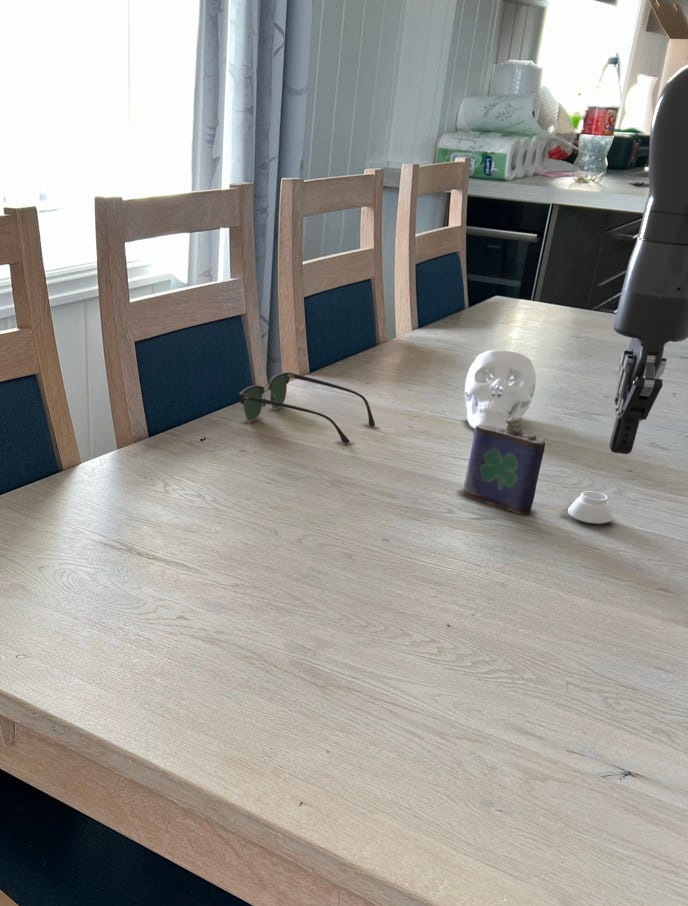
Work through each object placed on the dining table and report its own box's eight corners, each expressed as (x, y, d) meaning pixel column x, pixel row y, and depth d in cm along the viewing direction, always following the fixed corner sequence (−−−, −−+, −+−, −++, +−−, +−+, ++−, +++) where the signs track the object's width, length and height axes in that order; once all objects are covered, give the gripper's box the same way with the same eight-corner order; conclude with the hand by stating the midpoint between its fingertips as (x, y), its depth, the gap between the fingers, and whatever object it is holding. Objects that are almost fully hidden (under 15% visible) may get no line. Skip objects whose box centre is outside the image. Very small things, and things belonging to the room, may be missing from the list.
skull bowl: (453, 422, 146) (470, 343, 146) (454, 448, 159) (470, 375, 160) (525, 432, 143) (542, 351, 143) (520, 458, 156) (536, 384, 157)
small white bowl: (613, 528, 116) (606, 513, 120) (619, 505, 114) (613, 491, 119) (569, 523, 117) (565, 508, 121) (575, 500, 115) (570, 485, 119)
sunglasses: (340, 449, 136) (344, 414, 133) (234, 425, 143) (236, 391, 140) (382, 422, 149) (387, 389, 146) (283, 401, 156) (286, 370, 153)
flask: (458, 493, 123) (475, 410, 118) (470, 488, 125) (487, 406, 120) (524, 516, 118) (544, 430, 113) (535, 510, 120) (556, 425, 114)
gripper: (714, 302, 94) (664, 474, 102) (688, 282, 105) (645, 438, 113) (632, 295, 95) (590, 465, 103) (615, 276, 106) (578, 431, 115)
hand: (619, 451), depth 108 cm, fingers closed
